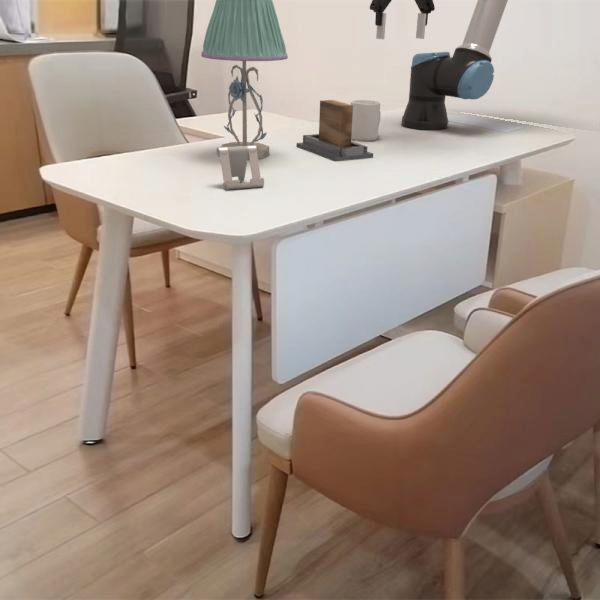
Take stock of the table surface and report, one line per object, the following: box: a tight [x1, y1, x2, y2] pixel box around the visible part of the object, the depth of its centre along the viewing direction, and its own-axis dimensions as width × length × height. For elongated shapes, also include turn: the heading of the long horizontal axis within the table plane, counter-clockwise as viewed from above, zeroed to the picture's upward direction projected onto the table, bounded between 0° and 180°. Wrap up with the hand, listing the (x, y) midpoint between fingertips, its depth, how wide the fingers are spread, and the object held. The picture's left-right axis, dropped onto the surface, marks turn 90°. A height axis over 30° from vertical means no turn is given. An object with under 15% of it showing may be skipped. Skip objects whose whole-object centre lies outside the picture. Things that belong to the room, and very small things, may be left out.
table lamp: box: [200, 0, 289, 161], centre depth 186 cm, size 22×22×40 cm
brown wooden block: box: [318, 99, 353, 148], centre depth 198 cm, size 4×10×12 cm, turn 30°
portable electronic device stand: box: [216, 145, 265, 191], centre depth 163 cm, size 9×8×8 cm
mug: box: [350, 99, 381, 142], centre depth 218 cm, size 9×12×11 cm
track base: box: [296, 133, 374, 162], centre depth 200 cm, size 12×20×3 cm, turn 30°
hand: (400, 38), depth 202 cm, fingers open, 13 cm apart
